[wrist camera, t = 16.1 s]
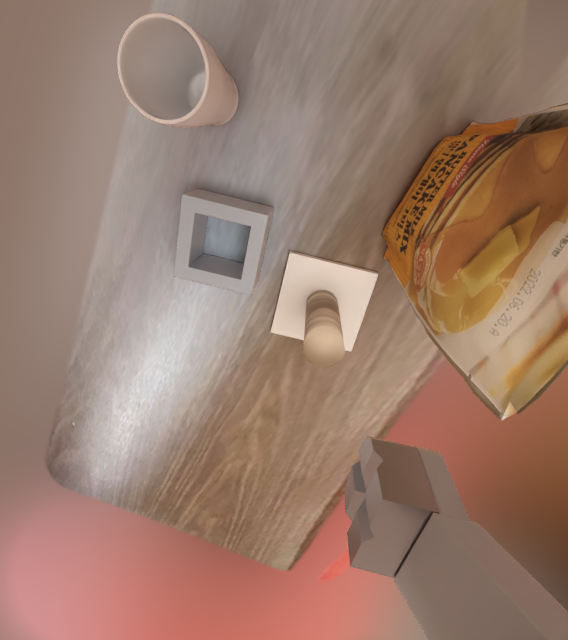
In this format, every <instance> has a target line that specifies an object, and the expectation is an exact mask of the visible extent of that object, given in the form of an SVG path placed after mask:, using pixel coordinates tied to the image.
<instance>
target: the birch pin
mask: <svg viewBox="0 0 568 640" xmlns="http://www.w3.org/2000/svg"><path fill="white" fill-rule="evenodd" d="M303 351H304V356H305V358H306V360H307V361H308V362H309V363H310V364H311V365H313V366H315V367H318V368H330V367H333V366H335V365H337V364H338V363H339V362H340V361H341V360H342V358H343V356H344V353H345V347H344V340H343V333H342V327H341V320H340V314H339V307H338V301H337V298H336V297H335V295H334V294H333V293H331V292H329V291H327V290H318V291H315V292H313V293H312V294H311V295H310V296H309V297H308V299H307V302H306V315H305V332H304V349H303Z"/></svg>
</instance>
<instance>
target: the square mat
mask: <svg viewBox="0 0 568 640" xmlns="http://www.w3.org/2000/svg"><path fill="white" fill-rule="evenodd" d="M377 277H378V272H376V271H372V270H367V269H363V268H359V267H355V266H351V265H347V264H343V263H339V262H335V261H331V260H327V259H323V258H319V257H315V256H311V255H306V254H302V253H298V252H294V251H290V253H289V257H288V262H287V266H286V270H285V274H284V278H283V282H282V287H281V291H280V295H279V299H278V303H277V308H276V312H275V316H274V320H273V324H272V328H271V332H272V333H276V334H280V335H284V336H288V337H292V338H297V339H301V340H304V332H305V315H306V302H307V299H308V297H309V296H310V295H311V294H312V293H313V292H315V291H318V290H327V291H329V292H331V293H333V294H334V295H335V297H336V298H337V301H338V307H339V314H340V320H341V327H342V333H343V340H344V347H345V350H347V351H352V348H353V345H354V342H355V340H356V337H357V334H358V331H359V328H360V325H361V323H362V320H363V317H364V314H365V311H366V308H367V305H368V303H369V300H370V297H371V294H372V291H373V288H374V286H375V283H376V280H377Z"/></svg>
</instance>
